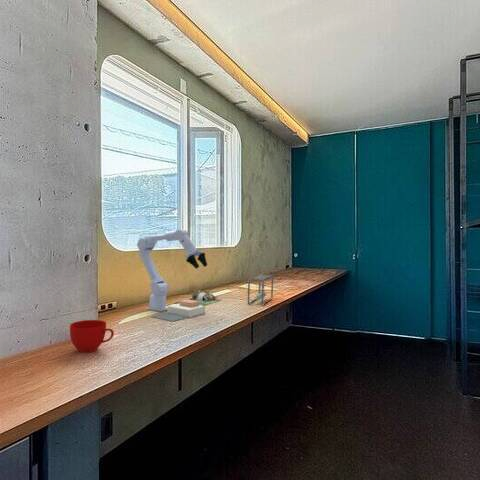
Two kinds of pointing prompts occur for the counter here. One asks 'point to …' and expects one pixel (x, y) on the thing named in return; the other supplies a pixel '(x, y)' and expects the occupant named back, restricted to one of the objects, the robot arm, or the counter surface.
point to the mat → (169, 317)
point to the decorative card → (203, 298)
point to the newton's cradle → (262, 294)
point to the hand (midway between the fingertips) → (202, 266)
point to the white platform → (185, 310)
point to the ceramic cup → (88, 334)
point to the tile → (189, 303)
